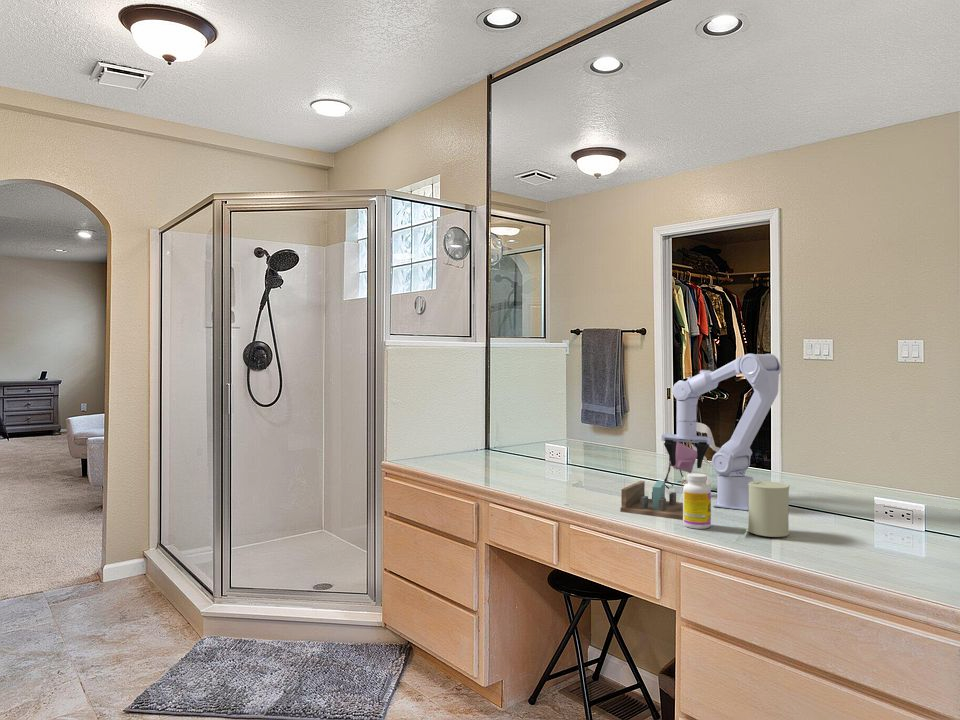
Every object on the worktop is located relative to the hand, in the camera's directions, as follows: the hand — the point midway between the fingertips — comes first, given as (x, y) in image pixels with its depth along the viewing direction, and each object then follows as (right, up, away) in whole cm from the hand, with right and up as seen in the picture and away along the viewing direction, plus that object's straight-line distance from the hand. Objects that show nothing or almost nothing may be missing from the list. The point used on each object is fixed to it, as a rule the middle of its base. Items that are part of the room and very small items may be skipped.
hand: (686, 466), depth 205 cm
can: (+8, -10, -39) cm, 41 cm away
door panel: (-12, -9, -15) cm, 21 cm away
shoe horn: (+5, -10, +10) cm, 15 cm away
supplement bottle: (-8, -10, -34) cm, 36 cm away
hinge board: (-11, -10, -16) cm, 22 cm away
